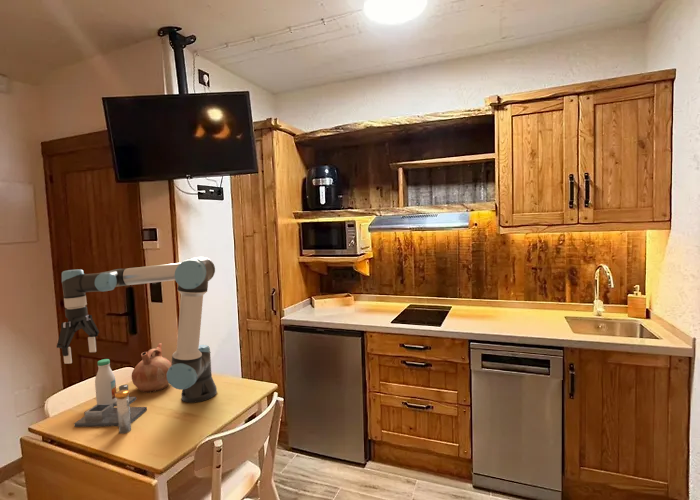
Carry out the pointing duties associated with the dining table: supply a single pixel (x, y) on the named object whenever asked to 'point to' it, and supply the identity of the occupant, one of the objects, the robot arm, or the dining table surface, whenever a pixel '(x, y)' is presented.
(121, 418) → the glass jar
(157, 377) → the jug
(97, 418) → the grey fixture stand
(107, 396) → the milk bottle
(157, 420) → the dining table surface
